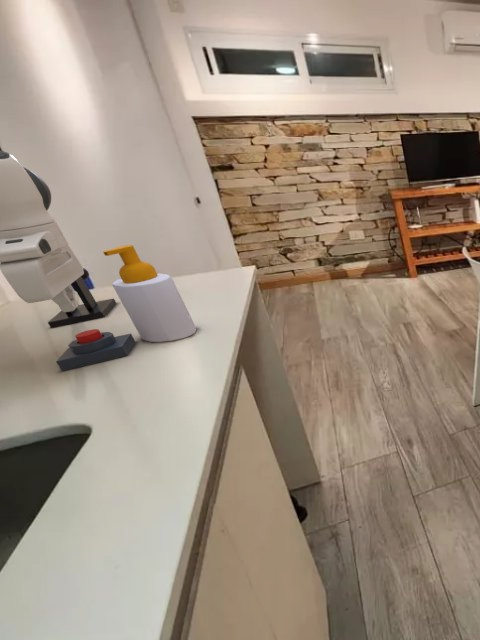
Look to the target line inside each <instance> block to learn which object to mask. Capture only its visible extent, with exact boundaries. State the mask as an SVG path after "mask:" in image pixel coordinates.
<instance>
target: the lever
mask: <svg viewBox="0 0 480 640" xmlns="http://www.w3.org/2000/svg"><path fill="white" fill-rule="evenodd" d="M82 268H83V267H82ZM83 271H84V274H83V275H82V276H81V277H82V278H83V280H84V281H86V280H88V278H90V272H89V271H88V270H87V269H86V268H83Z"/></svg>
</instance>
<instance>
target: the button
mask: <svg viewBox="0 0 480 640" xmlns="http://www.w3.org/2000/svg"><path fill="white" fill-rule="evenodd" d="M74 337H75V340H78V342H79V344H83V343H88V342H92V341H95V340H98V339H100V338H102V337H103V336H102V334H101V331H100V329H98V328H94V329H93V328H92V329H89V330H88V329H87V330H85V331H84V330H83V331H81V332H79V333H76V334H75V335H74Z"/></svg>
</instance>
